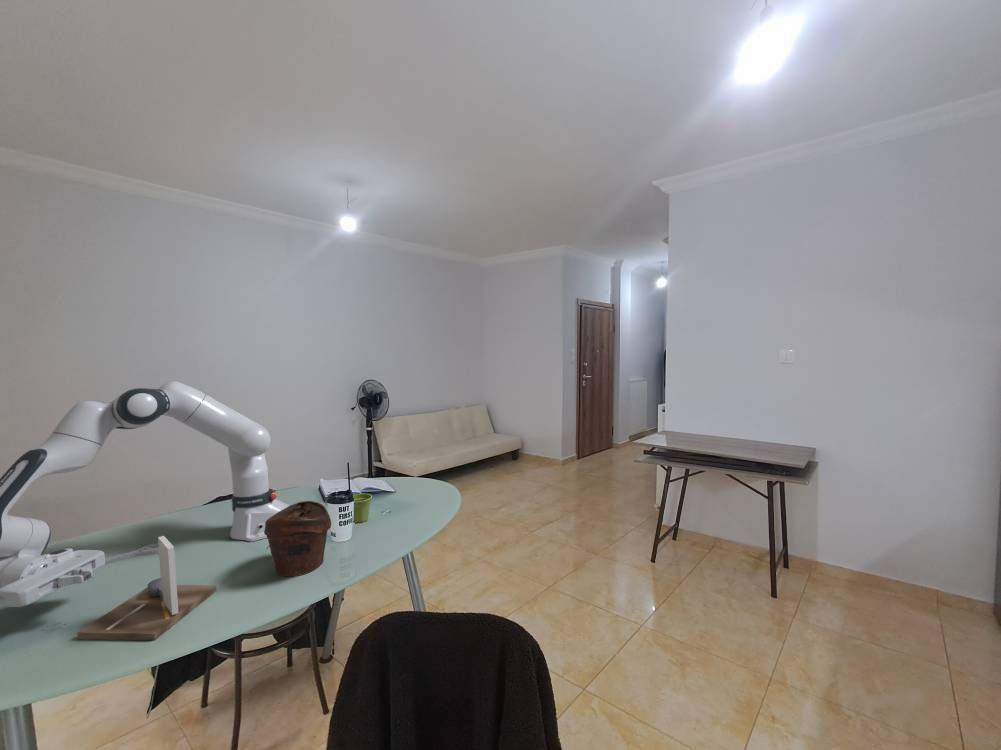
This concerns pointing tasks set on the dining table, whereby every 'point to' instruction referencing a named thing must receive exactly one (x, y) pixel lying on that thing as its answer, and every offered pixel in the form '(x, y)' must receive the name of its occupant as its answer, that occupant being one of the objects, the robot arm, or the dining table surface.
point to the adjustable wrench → (134, 553)
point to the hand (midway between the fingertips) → (87, 576)
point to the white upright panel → (166, 577)
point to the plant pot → (361, 507)
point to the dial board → (145, 615)
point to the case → (298, 537)
